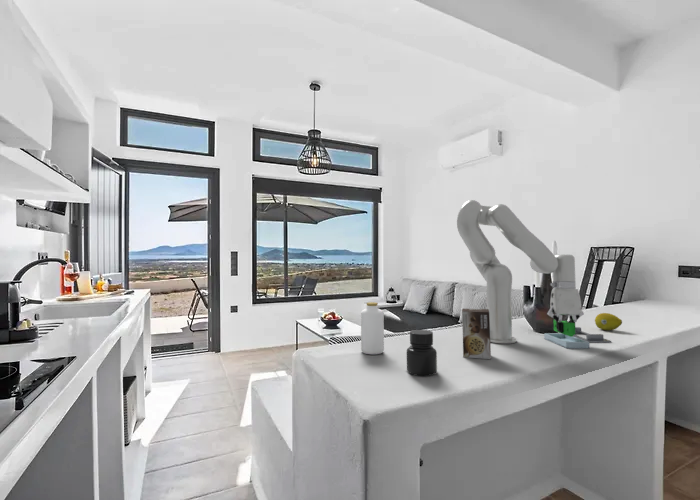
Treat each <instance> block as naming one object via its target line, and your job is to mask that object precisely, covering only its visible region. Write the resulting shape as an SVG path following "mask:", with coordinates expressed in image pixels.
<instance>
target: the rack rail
mask: <svg viewBox="0 0 700 500" xmlns="http://www.w3.org/2000/svg"><path fill="white" fill-rule="evenodd" d="M576 334H578V335H576ZM579 334H580V335H581V334H582V335H585V336H586V338H585V337H582V336H579ZM573 337H576V338H579V339H582V340H584V341H587V342H589V344H590V343H595V344H596V343H597V344H599V343H601V344H602V343H603V344H604V343H609V342H611V343H612V340H611V339H610V340H609V339H607V338H604V334H602V333H590V332H589V333H588V332H584V331H582V327H579V326H575V335H573Z"/></svg>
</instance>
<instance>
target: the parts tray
mask: <svg viewBox="0 0 700 500" xmlns="http://www.w3.org/2000/svg"><path fill="white" fill-rule="evenodd" d="M543 335H544V336H543V337H544V338H543V339H544V340H547V341H548V342H551V343H553V344H556V345H558V346H559V347H563V348H565V349H590V347H591V346H590V343H589V342H587V341H584V340H582V339H579V338H576V337H570V336H567V335H565V334H562V333H559V332H556V333H553V332H552V333H550V332H548V333H547V332H546V333H544V334H543Z"/></svg>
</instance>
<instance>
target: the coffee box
mask: <svg viewBox="0 0 700 500" xmlns="http://www.w3.org/2000/svg"><path fill="white" fill-rule="evenodd" d="M461 323H462V357H463V358H466V359H467V358H468V359H483V360H491V359H492V355H491V354H492V351H491V350H492V349H491V342H490V315H489V309H487V308H462V310H461Z"/></svg>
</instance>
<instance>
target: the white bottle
mask: <svg viewBox="0 0 700 500" xmlns="http://www.w3.org/2000/svg"><path fill="white" fill-rule="evenodd" d="M365 307H366V308H364V309H362V310H361V312H360V349H361V350H360V351H361V353H363V354H365V355H374V356H376V355H380V354H382V353H383V352H384V351H385V338H384V337H385V333H384V332H385V324H384V322H385V321H384V320H385V319H384V318H385V317H384V316H385V314H384V311H383V310H382V309H380V308H378V307H379V305H378V302H375V301H374V302H371V301H369V302H366V305H365Z"/></svg>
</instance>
